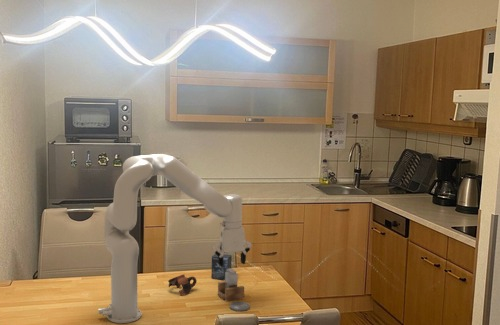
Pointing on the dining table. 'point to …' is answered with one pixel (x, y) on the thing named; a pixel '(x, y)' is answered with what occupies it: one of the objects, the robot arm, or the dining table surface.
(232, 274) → the pin
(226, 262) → the box
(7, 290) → the dining table surface
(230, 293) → the cradle
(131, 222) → the robot arm
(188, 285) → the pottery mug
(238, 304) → the disc
